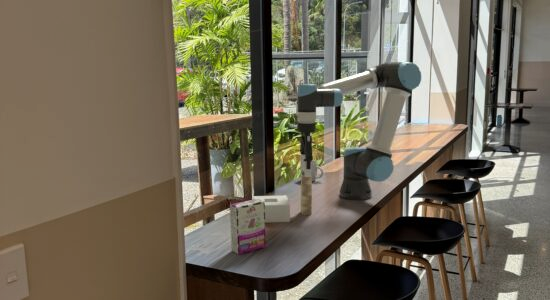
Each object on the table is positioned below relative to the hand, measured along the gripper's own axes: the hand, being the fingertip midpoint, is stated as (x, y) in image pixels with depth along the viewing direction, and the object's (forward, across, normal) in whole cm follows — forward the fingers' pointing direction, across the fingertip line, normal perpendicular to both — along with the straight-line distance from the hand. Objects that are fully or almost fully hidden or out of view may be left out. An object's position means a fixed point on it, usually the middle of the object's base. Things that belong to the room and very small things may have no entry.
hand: (305, 173), depth 203 cm
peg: (+17, 0, 0) cm, 17 cm away
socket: (+17, +4, -14) cm, 23 cm away
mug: (+17, -57, +12) cm, 61 cm away
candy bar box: (+18, +39, -24) cm, 49 cm away
